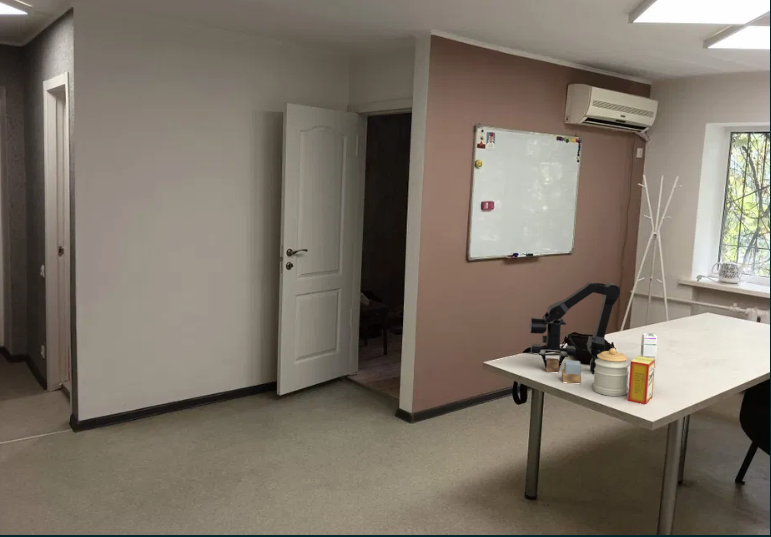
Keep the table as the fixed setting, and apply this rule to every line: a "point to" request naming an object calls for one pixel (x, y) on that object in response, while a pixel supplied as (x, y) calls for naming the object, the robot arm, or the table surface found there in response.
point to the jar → (611, 373)
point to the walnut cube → (552, 365)
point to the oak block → (570, 377)
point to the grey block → (572, 367)
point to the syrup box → (649, 345)
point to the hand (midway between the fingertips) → (552, 368)
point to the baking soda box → (641, 379)
